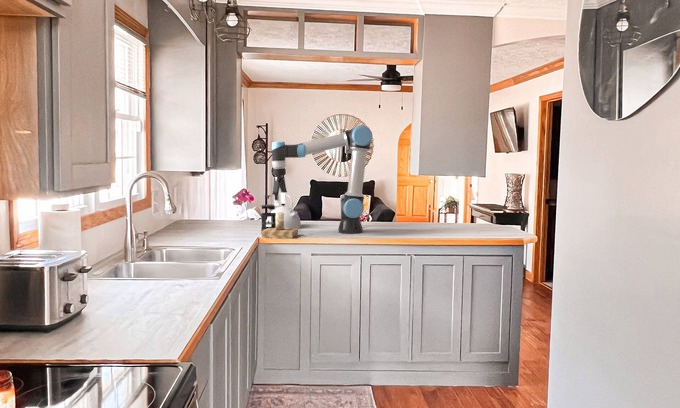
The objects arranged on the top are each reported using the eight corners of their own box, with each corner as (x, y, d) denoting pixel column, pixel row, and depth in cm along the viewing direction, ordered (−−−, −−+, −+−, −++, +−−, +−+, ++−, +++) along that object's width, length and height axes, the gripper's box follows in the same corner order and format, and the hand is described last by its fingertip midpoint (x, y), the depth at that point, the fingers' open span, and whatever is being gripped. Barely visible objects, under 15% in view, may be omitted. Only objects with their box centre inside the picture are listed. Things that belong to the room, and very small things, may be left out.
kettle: (310, 228, 364) (310, 193, 362) (283, 231, 348) (283, 195, 346) (285, 224, 381) (285, 191, 379) (258, 228, 365) (258, 193, 363)
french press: (270, 234, 332) (269, 196, 330) (257, 233, 336) (256, 195, 334) (281, 232, 343) (280, 194, 341) (268, 231, 347) (267, 194, 345)
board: (298, 235, 333) (297, 228, 333) (292, 238, 319) (291, 231, 319) (268, 234, 336) (268, 227, 336) (261, 238, 322) (261, 231, 322)
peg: (285, 236, 330) (284, 212, 328) (283, 237, 325) (282, 213, 324) (277, 235, 331) (276, 212, 329) (274, 237, 326) (274, 213, 324)
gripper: (278, 167, 337) (279, 202, 339) (266, 169, 312) (267, 206, 314) (290, 167, 335) (291, 202, 337) (279, 168, 311) (280, 206, 313)
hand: (280, 204), depth 326 cm, fingers open, 13 cm apart
